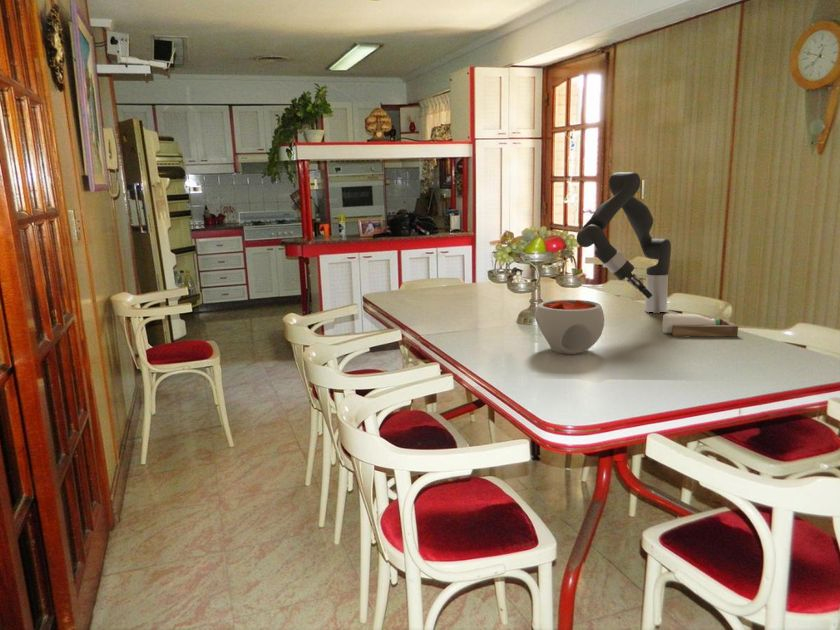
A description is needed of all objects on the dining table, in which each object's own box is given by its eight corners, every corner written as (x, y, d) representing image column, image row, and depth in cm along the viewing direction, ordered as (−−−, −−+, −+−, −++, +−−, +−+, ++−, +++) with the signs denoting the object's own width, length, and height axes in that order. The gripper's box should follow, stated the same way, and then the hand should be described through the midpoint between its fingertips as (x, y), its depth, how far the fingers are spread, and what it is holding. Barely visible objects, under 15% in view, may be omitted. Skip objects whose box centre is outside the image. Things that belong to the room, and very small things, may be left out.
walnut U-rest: (664, 328, 254) (664, 318, 254) (724, 328, 251) (725, 318, 250) (673, 336, 240) (673, 326, 239) (737, 336, 236) (738, 326, 236)
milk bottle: (664, 337, 244) (719, 338, 241) (667, 320, 240) (723, 321, 237) (661, 325, 250) (714, 327, 247) (663, 309, 246) (717, 310, 243)
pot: (616, 349, 224) (617, 300, 220) (580, 364, 207) (581, 311, 204) (557, 340, 241) (558, 294, 237) (520, 352, 224) (520, 303, 220)
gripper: (629, 260, 237) (661, 292, 238) (623, 257, 250) (653, 287, 251) (614, 274, 239) (646, 306, 239) (608, 270, 252) (639, 300, 252)
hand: (650, 296), depth 245 cm, fingers closed
